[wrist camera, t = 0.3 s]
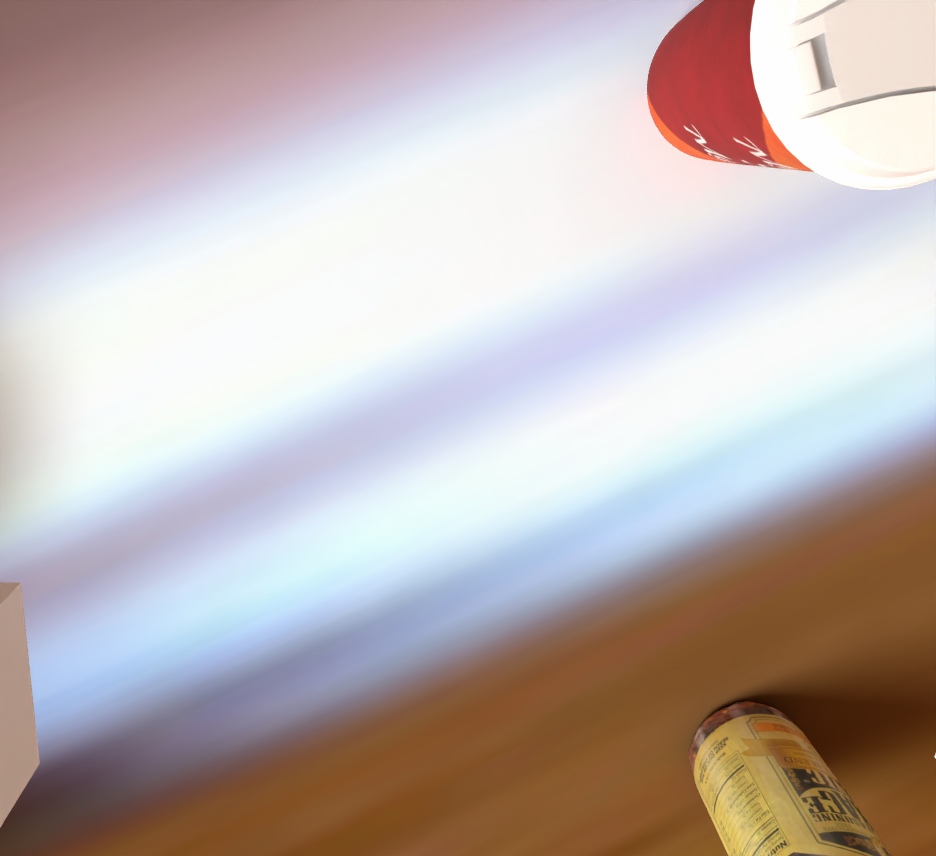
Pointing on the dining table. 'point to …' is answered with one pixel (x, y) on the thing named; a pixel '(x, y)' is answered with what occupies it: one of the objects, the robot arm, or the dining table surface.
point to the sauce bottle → (774, 788)
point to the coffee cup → (803, 87)
